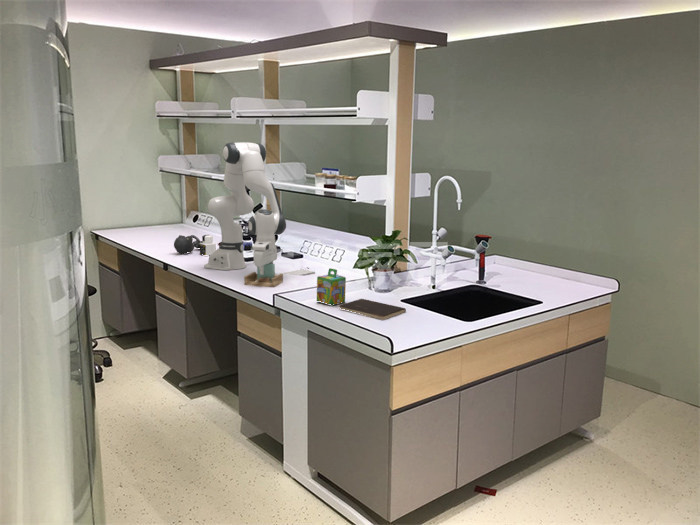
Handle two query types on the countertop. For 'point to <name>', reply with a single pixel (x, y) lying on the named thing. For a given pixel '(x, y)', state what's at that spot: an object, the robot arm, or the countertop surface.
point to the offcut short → (264, 279)
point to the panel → (267, 271)
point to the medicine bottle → (207, 245)
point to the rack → (253, 277)
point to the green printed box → (331, 288)
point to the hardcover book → (373, 308)
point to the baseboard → (300, 272)
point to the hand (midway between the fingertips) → (266, 272)
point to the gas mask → (186, 244)
